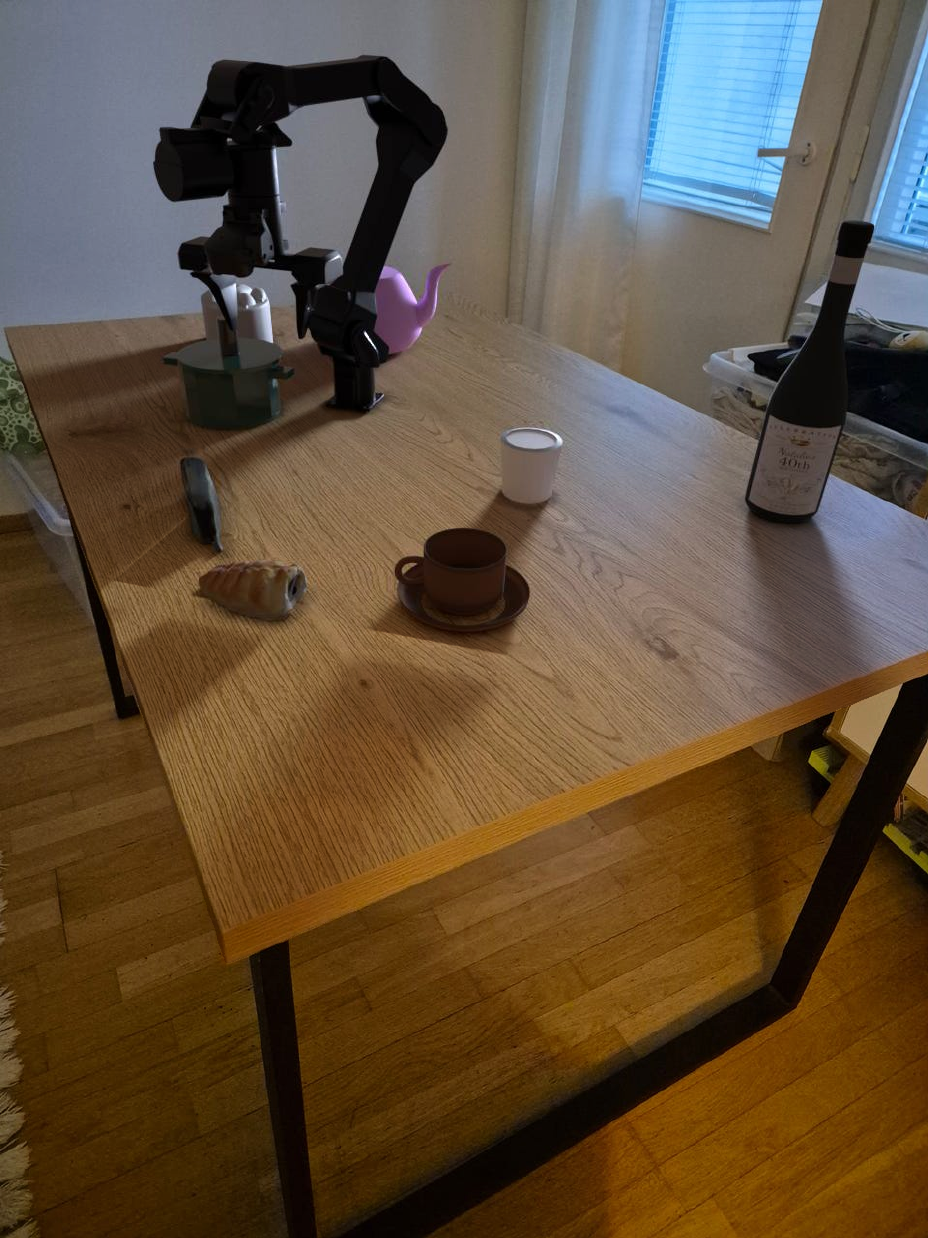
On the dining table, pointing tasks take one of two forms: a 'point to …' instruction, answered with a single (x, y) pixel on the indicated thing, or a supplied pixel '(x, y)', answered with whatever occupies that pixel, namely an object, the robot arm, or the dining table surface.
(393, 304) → the teapot
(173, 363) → the pot
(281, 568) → the pastry
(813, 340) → the wine bottle
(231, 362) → the lid
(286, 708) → the dining table surface
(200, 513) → the black long curved piece
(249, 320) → the lumpy-topped squat cylinder
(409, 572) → the cup and saucer
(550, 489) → the white lidded cup
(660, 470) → the dining table surface
